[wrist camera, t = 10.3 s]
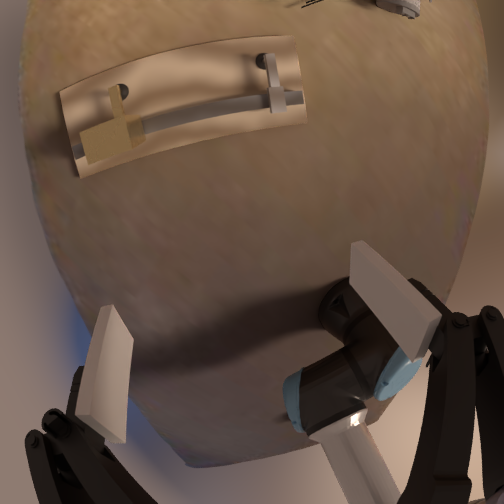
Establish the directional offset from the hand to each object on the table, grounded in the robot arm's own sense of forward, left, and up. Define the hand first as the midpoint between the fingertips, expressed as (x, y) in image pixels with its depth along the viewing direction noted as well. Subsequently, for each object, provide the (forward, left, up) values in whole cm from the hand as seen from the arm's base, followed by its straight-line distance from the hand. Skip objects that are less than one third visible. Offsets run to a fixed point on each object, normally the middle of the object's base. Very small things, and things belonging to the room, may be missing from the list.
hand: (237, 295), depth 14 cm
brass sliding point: (+11, +9, -27) cm, 30 cm away
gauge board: (+12, +1, -29) cm, 31 cm away
